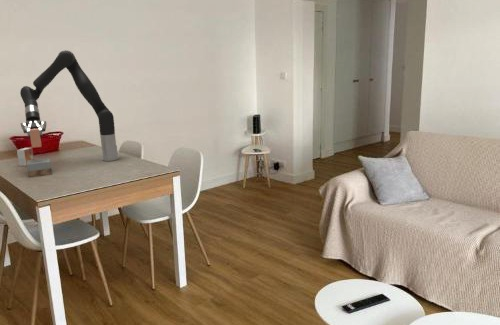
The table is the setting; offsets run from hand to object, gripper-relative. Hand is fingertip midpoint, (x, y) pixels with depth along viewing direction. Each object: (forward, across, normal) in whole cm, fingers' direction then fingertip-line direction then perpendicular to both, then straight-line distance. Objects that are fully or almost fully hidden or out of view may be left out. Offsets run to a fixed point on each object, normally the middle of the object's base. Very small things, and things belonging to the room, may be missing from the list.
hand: (35, 137), depth 244 cm
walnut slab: (+15, 0, +17) cm, 23 cm away
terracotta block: (+3, 0, +5) cm, 6 cm away
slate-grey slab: (+12, 0, +14) cm, 19 cm away
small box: (-8, -8, +40) cm, 41 cm away
